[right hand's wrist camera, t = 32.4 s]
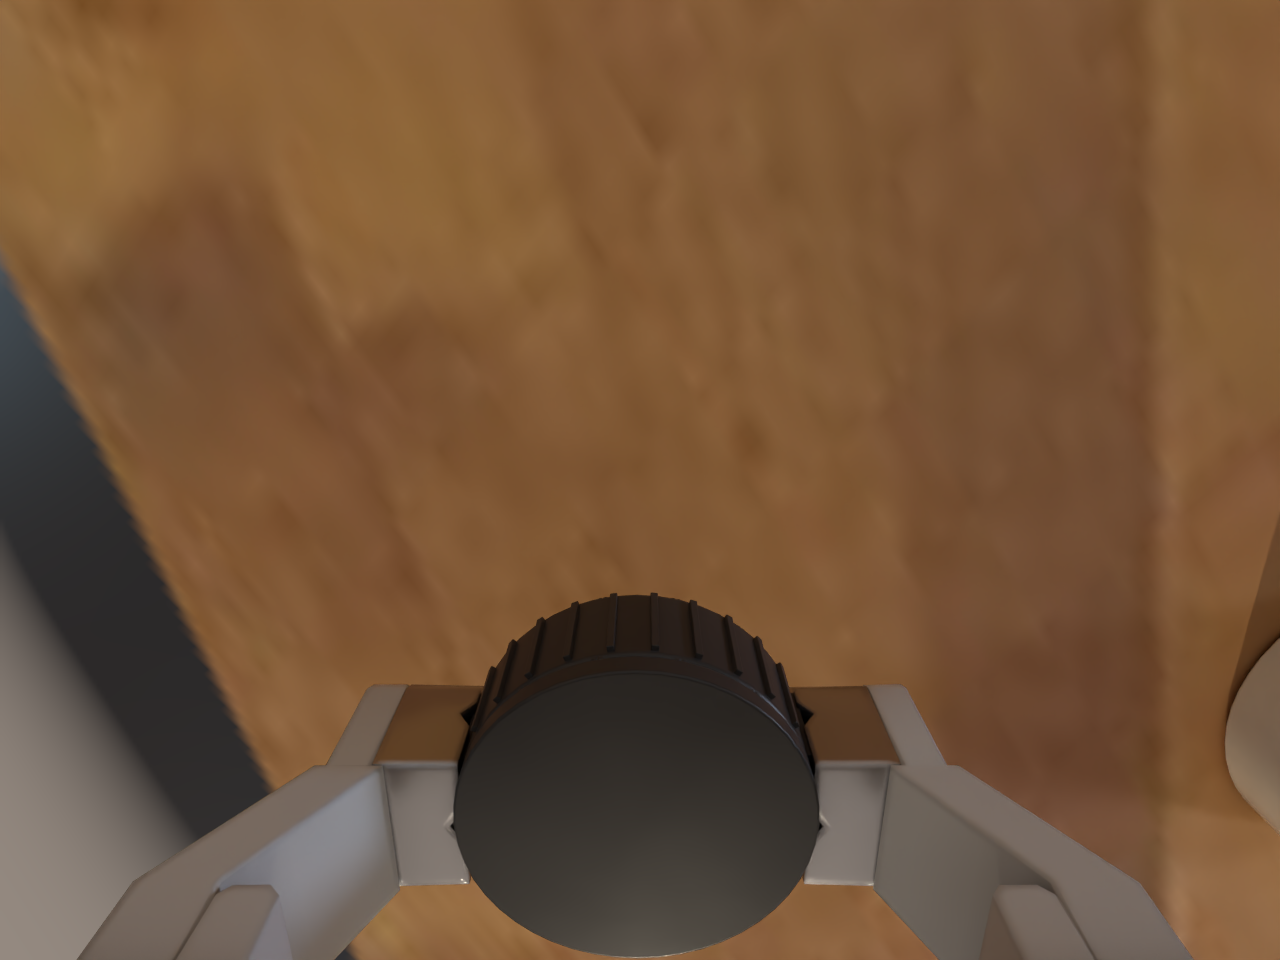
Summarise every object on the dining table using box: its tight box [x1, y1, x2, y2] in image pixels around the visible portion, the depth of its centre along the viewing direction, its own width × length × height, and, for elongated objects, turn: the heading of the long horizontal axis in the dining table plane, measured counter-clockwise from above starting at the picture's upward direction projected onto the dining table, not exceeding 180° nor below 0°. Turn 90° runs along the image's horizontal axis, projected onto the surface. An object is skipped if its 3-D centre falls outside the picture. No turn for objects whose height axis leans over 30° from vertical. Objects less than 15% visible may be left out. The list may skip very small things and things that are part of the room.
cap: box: [453, 593, 820, 958], centre depth 10 cm, size 4×4×2 cm
